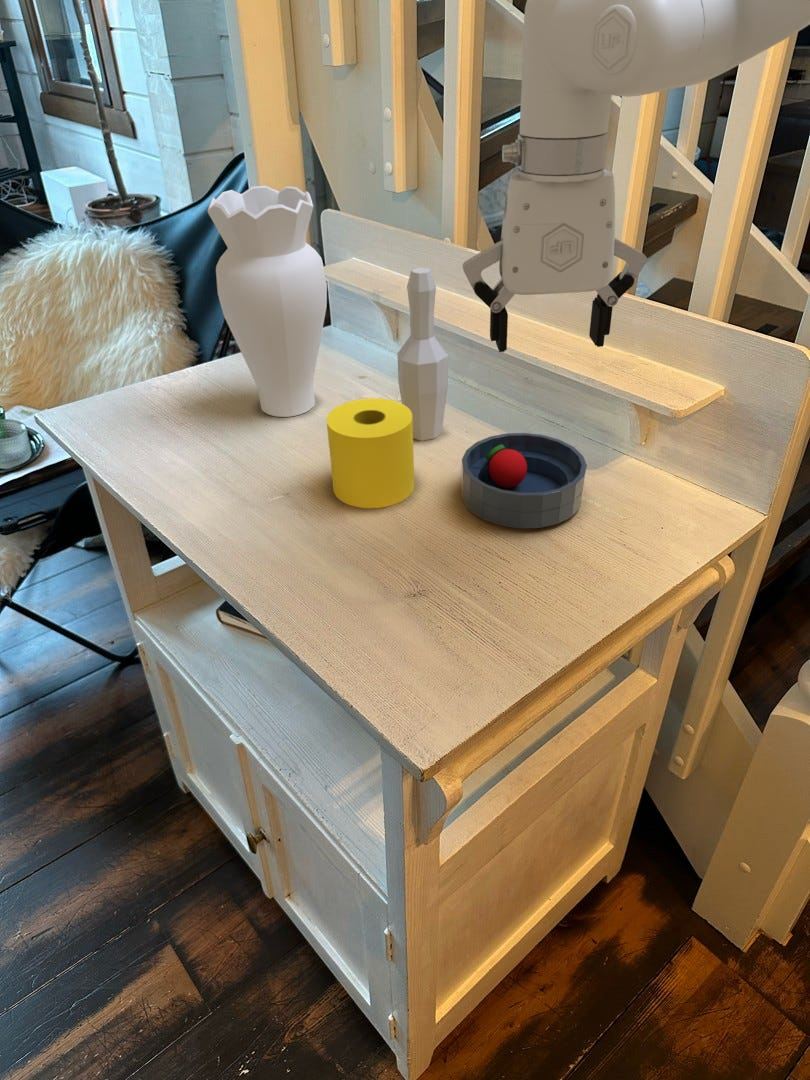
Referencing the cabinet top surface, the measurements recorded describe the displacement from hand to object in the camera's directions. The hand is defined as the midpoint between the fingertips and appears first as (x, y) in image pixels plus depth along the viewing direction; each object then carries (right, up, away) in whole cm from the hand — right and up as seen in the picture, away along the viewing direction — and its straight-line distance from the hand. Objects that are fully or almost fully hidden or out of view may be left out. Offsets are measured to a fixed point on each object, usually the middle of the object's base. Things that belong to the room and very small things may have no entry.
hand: (548, 344), depth 76 cm
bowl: (-1, -15, +14) cm, 20 cm away
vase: (-32, 0, +37) cm, 49 cm away
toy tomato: (-1, -13, +14) cm, 19 cm away
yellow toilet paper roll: (-18, -13, +18) cm, 29 cm away
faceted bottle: (-12, -5, +29) cm, 31 cm away
